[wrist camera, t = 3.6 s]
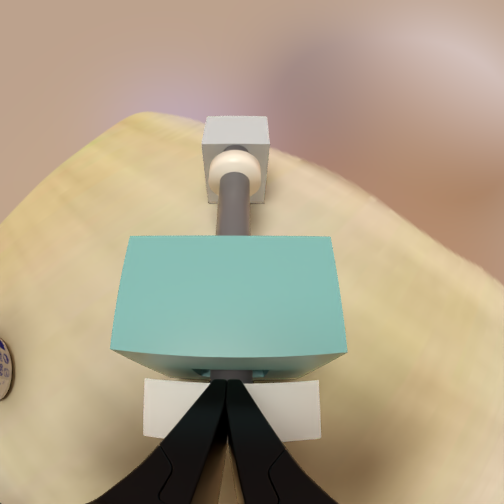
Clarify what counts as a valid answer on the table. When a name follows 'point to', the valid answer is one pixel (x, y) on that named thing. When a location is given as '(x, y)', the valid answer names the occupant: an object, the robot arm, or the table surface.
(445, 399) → the table surface
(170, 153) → the table surface
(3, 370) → the beverage can
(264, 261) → the teal block with hole
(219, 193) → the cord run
